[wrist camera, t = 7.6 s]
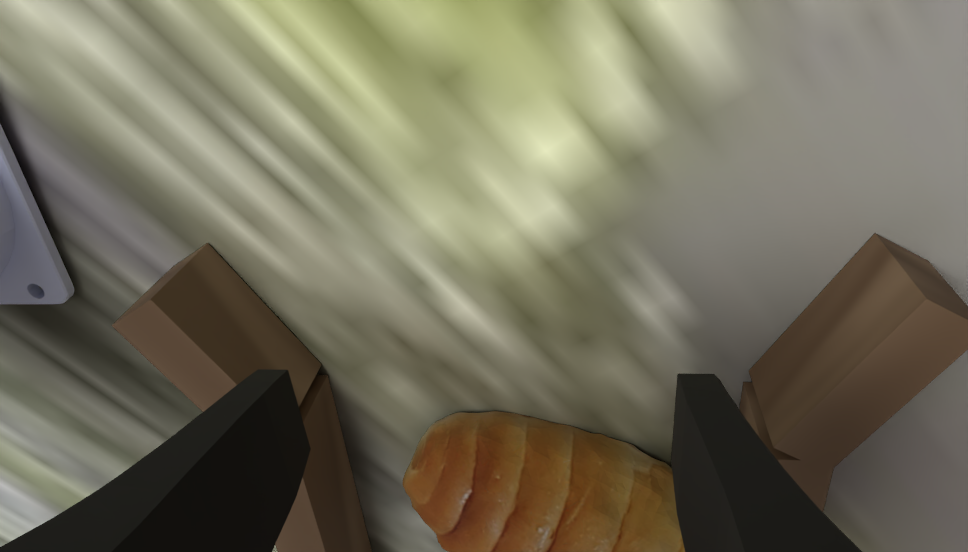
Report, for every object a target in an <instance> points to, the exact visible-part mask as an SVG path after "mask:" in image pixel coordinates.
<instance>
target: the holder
mask: <svg viewBox="0 0 968 552" xmlns="http://www.w3.org/2000/svg"><path fill="white" fill-rule="evenodd" d="M112 327H113V328H115V329H116V330H117V331H118V332H119V333H120V334H121V335H122V336H123V337H124V338H125V339H126V340H127V341H128V342H129V343H130V344H132V345H133V346H134V347H135V348H136V349H137V350H138V351H139V352H140V353H141V354H142V355H143V356H144V357H145V358H146V359H147V360H149V361H150V362H151V363H152V364H153V365H154V366H155V367H156V368H157V369H158V370H159V371H160V372H161V373H162V374H163V375H164V376H166V377H167V378H168V379H169V380H170V381H171V382H172V383H173V384H174V385H175V386H176V387H177V388H178V389H179V390H180V391H181V392H183V393H184V394H185V395H186V396H187V397H188V398H189V399H190V400H191V401H192V402H193V403H194V404H195V405H196V406H197V407H198V408H200V409H201V410H202V411H203V412H204V411H205V410H206V409H208V408H209V407H210V406H211V405H213V404H214V403H215V402H216V401H218V400H219V399H220V398H221V397H223V396H224V395H225V394H226V393H228V392H229V391H230V390H231V389H233V388H234V387H235V386H236V385H238V384H239V383H240V382H242V381H243V380H244V379H245V378H247V377H248V376H250V375H251V374H252V373H254V372H255V371H257V370H258V369H272V370H288V371H289V375H290V378H291V382H292V385H293V389H294V392H295V396H296V399H297V403H298V406H299V410H300V413H301V417H302V420H303V424H304V427H305V430H306V434H307V437H308V441H309V444H310V448H311V450H310V453H309V457H308V460H307V464H306V467H305V471H304V474H303V477H302V481H301V484H300V487H299V490H298V493H297V496H296V499H295V501H294V503H293V506H292V508H291V510H290V512H289V515H288V517H287V519H286V521H285V524H284V526H283V528H282V530H281V532H280V535H279V537H278V539H277V541H276V543H275V545H276V548H277V551H278V552H372V550H371V546H370V542H369V538H368V534H367V530H366V526H365V522H364V518H363V514H362V510H361V506H360V502H359V498H358V494H357V490H356V486H355V482H354V478H353V474H352V470H351V466H350V462H349V458H348V454H347V450H346V446H345V442H344V438H343V434H342V431H341V427H340V423H339V419H338V415H337V411H336V407H335V403H334V399H333V395H332V391H331V387H330V383H329V379H328V375H316V374H317V372H318V371H319V369H320V367H321V365H322V364H321V363H320V362H319V361H318V360H317V359H316V358H315V357H314V356H313V355H312V354H311V353H310V352H309V351H308V350H307V348H306V347H305V346H304V345H303V344H302V343H301V342H300V341H299V340H298V339H297V338H296V337H295V336H294V335H293V333H292V332H291V331H290V330H289V329H288V328H287V327H286V326H285V325H284V324H283V323H282V322H281V321H280V320H279V319H278V317H277V316H276V315H275V314H274V313H273V312H272V311H271V310H270V309H269V308H268V307H267V306H266V305H265V304H264V303H263V301H262V300H261V299H260V298H259V297H258V296H257V295H256V294H255V293H254V292H253V291H252V290H251V289H250V288H249V286H248V285H247V284H246V283H245V282H244V281H243V280H242V279H241V278H240V277H239V276H238V275H237V274H236V273H235V272H234V270H233V269H232V268H231V267H230V266H229V265H228V264H227V263H226V262H225V261H224V260H223V259H222V258H221V257H220V255H219V254H218V253H217V252H216V251H215V250H214V249H213V248H212V247H211V246H210V245H209V244H208V243H207V244H205V245H204V246H202V247H201V248H199V249H198V250H197V251H195V252H194V253H192V254H191V255H189V256H188V257H186V258H185V259H184V260H182V261H181V262H179V263H178V264H176V265H175V266H173V267H172V268H171V269H170V270H169V271H168V272H167V273H166V274H165V275H164V276H163V277H162V278H160V279H159V280H158V281H157V282H156V283H155V284H154V285H153V286H152V287H151V288H150V289H149V290H148V291H147V292H146V293H145V294H144V295H143V296H142V297H141V298H140V299H139V300H138V301H137V302H136V303H134V304H133V305H132V306H131V307H130V308H129V309H128V310H127V311H126V312H125V313H124V314H123V315H122V316H121V317H120V318H119V319H118V320H117V321H116V322H115V323H114V324H113V325H112ZM966 350H968V306H967V305H966V304H965V303H964V302H963V300H962V299H961V298H960V297H959V296H958V295H957V294H956V292H955V291H954V290H953V289H952V288H951V287H950V285H949V284H948V283H947V282H946V281H945V280H944V279H943V277H942V276H941V275H940V274H939V273H938V272H937V270H936V269H935V268H934V267H933V266H932V265H931V264H930V262H929V261H927V260H925V259H923V258H921V257H920V256H918V255H916V254H914V253H912V252H910V251H908V250H906V249H904V248H902V247H900V246H898V245H897V244H895V243H893V242H891V241H889V240H887V239H885V238H883V237H881V236H879V235H877V234H874V235H873V236H872V237H871V238H870V239H869V240H868V241H867V242H866V244H865V245H864V246H863V247H862V248H861V249H860V250H859V251H858V252H857V253H856V254H855V256H854V257H853V258H852V259H851V260H850V261H849V262H848V263H847V264H846V265H845V266H844V268H843V269H842V270H841V271H840V272H839V273H838V274H837V275H836V276H835V277H834V278H833V280H832V281H831V282H830V283H829V284H828V285H827V286H826V287H825V288H824V289H823V290H822V292H821V293H820V294H819V295H818V296H817V297H816V298H815V299H814V300H813V301H812V302H811V304H810V305H809V306H808V307H807V308H806V309H805V310H804V311H803V312H802V313H801V314H800V316H799V317H798V318H797V319H796V320H795V321H794V322H793V323H792V324H791V325H790V327H789V328H788V329H787V330H786V331H785V332H784V333H783V334H782V335H781V336H780V337H779V339H778V340H777V341H776V342H775V343H774V344H773V345H772V346H771V347H770V348H769V349H768V351H767V352H766V353H765V354H764V355H763V356H762V357H761V358H760V359H759V360H758V361H757V363H756V364H755V365H754V366H753V367H752V368H751V369H750V370H749V373H750V376H751V380H752V382H743V388H742V395H741V402H740V409H739V410H740V411H741V413H742V414H743V416H744V417H745V418H746V420H747V421H748V423H749V424H750V425H751V427H752V428H753V429H754V431H755V432H756V433H757V435H758V436H759V437H760V439H761V440H762V441H763V443H764V444H765V445H766V446H767V448H768V449H769V450H770V451H771V453H772V454H773V455H774V456H775V458H776V459H777V460H778V461H779V463H780V464H781V465H782V466H783V468H784V469H785V470H786V471H787V472H788V474H789V475H790V476H791V477H792V478H793V480H794V481H795V482H796V483H797V484H798V485H799V487H800V488H801V489H802V490H803V491H804V492H805V493H806V494H807V495H808V497H809V498H810V499H811V500H812V501H813V502H814V503H815V504H816V505H817V507H818V508H819V509H820V510H821V511H822V512H823V510H824V506H825V502H826V497H827V493H828V489H829V485H830V481H831V477H832V473H833V468H834V467H835V466H836V465H837V464H839V463H840V462H841V461H842V460H843V459H844V458H845V457H846V456H848V455H849V454H850V453H851V452H852V451H853V450H854V449H855V448H857V447H858V446H859V445H860V444H861V443H862V442H863V441H865V440H866V439H867V438H868V437H869V436H870V435H871V434H872V433H874V432H875V431H876V430H877V429H878V428H879V427H880V426H882V425H883V424H884V423H885V422H886V421H887V420H888V419H889V418H891V417H892V416H893V415H894V414H895V413H896V412H897V411H898V410H900V409H901V408H902V407H903V406H904V405H905V404H906V403H908V402H909V401H910V400H911V399H912V398H913V397H914V396H915V395H917V394H918V393H919V392H920V391H921V390H922V389H923V388H925V387H926V386H927V385H928V384H929V383H930V382H931V381H932V380H934V379H935V378H936V377H937V376H938V375H939V374H940V373H941V372H943V371H944V370H945V369H946V368H947V367H948V366H949V365H951V364H952V363H953V362H954V361H955V360H956V359H957V358H958V357H960V356H961V355H962V354H963V353H964V352H965V351H966Z"/></svg>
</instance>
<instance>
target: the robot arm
mask: <svg viewBox="0 0 968 552" xmlns="http://www.w3.org/2000/svg"><path fill="white" fill-rule="evenodd" d="M39 286H40V287H41V288H42V289H43V290H42V289H41V288H39ZM73 294H74V286H73V284H72V281H71V279H70V277H69V275H68V272H67V270H66V268H65V266H64V264H63V261H62V259H61V257H60V255H59V253H58V250H57V248H56V246H55V244H54V241H53V239H52V237H51V235H50V233H49V230H48V228H47V226H46V224H45V221H44V219H43V217H42V215H41V213H40V210H39V208H38V206H37V204H36V202H35V199H34V197H33V195H32V193H31V190H30V188H29V186H28V184H27V182H26V179H25V177H24V175H23V173H22V171H21V168H20V166H19V164H18V162H17V159H16V157H15V155H14V153H13V151H12V148H11V146H10V144H9V142H8V139H7V137H6V135H5V133H4V131H3V128H2V126H1V124H0V304H62V303H64V302H66V301H67V300H68V299H69V298H70V297H71V296H73ZM310 450H311V448H310V444H309V441H308V437H307V434H306V430H305V427H304V424H303V420H302V417H301V413H300V410H299V406H298V403H297V399H296V396H295V392H294V389H293V385H292V382H291V378H290V375H289V371H288V370H272V369H258V370H257V371H255V372H254V373H252V374H251V375H250V376H248V377H247V378H245V379H244V380H243V381H242V382H240V383H239V384H238V385H236V386H235V387H234V388H233V389H231V390H230V391H229V392H228V393H226V394H225V395H224V396H223V397H221V398H220V399H219V400H218V401H216V402H215V403H214V404H213V405H211V406H210V407H209V408H208V409H206V410H205V411H204V412H203V413H201V414H200V415H199V416H198V417H196V418H195V419H194V420H193V421H191V422H190V423H189V424H187V425H186V426H185V427H184V428H182V429H181V430H180V431H179V432H177V433H176V434H175V435H174V436H172V437H171V438H170V439H168V440H167V441H166V442H164V443H163V444H162V445H160V446H159V447H158V448H156V449H155V450H154V451H152V452H151V453H149V454H148V455H147V456H145V457H144V458H143V459H141V460H140V461H138V462H137V463H136V464H134V465H133V466H132V467H130V468H129V469H128V470H126V471H125V472H123V473H122V474H121V475H119V476H118V477H116V478H115V479H114V480H112V481H111V482H109V483H108V484H106V485H105V486H103V487H102V488H100V489H99V490H97V491H96V492H94V493H93V494H91V495H89V496H88V497H86V498H85V499H83V500H81V501H80V502H78V503H77V504H75V505H73V506H72V507H70V508H69V509H67V510H65V511H64V512H62V513H61V514H59V515H57V516H56V517H54V518H52V519H51V520H49V521H47V522H45V523H43V524H42V525H40V526H38V527H36V528H34V529H33V530H31V531H29V532H27V533H25V534H23V535H22V536H20V537H18V538H16V539H14V540H13V541H11V542H9V543H7V544H5V545H4V546H2V547H0V552H272V550H273V548H274V546H275V543H276V541H277V539H278V537H279V535H280V532H281V530H282V528H283V526H284V524H285V521H286V519H287V517H288V515H289V512H290V510H291V508H292V506H293V503H294V501H295V499H296V496H297V493H298V490H299V487H300V484H301V481H302V477H303V474H304V471H305V467H306V464H307V460H308V457H309V453H310ZM671 462H672V473H673V483H674V492H675V501H676V510H677V516H678V521H679V526H680V530H681V535H682V539H683V544H684V548H685V552H862V551H861V550H860V549H859V548H858V547H857V546H856V545H855V544H854V543H853V542H852V541H851V540H850V539H849V538H847V537H846V536H845V535H844V534H843V533H842V532H841V531H840V530H839V529H838V528H837V527H836V526H835V525H834V523H833V522H832V521H831V520H830V519H829V518H828V517H827V516H826V515H825V514H824V513H823V512H822V511H821V510H820V509H819V508H818V507H817V505H816V504H815V503H814V502H813V501H812V500H811V499H810V498H809V497H808V495H807V494H806V493H805V492H804V491H803V490H802V489H801V488H800V487H799V485H798V484H797V483H796V482H795V481H794V480H793V478H792V477H791V476H790V475H789V474H788V472H787V471H786V470H785V469H784V468H783V466H782V465H781V464H780V463H779V461H778V460H777V459H776V458H775V456H774V455H773V454H772V453H771V451H770V450H769V449H768V448H767V446H766V445H765V444H764V443H763V441H762V440H761V439H760V437H759V436H758V435H757V433H756V432H755V431H754V429H753V428H752V427H751V425H750V424H749V423H748V421H747V420H746V418H745V417H744V416H743V414H742V413H741V411H740V410H739V408H738V407H737V406H736V404H735V403H734V401H733V400H732V398H731V397H730V395H729V394H728V392H727V391H726V389H725V387H724V386H723V384H722V383H721V381H720V380H719V379H718V378H717V377H716V376H715V375H714V374H678V375H677V388H676V402H675V415H674V428H673V441H672V455H671Z"/></svg>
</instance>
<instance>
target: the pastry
mask: <svg viewBox="0 0 968 552" xmlns="http://www.w3.org/2000/svg"><path fill="white" fill-rule="evenodd" d="M403 487H404V488H405V491H406V493H407V494H408V496H409V497H410V499H411V502H412V507H413V508H414V509H415V510H416V511H417V512H418V514H419V515H420V516H421V518H422V519H423V521H424V522H425V523H426V524H427V525H428V526H429V527H430V528H431V529H432V530H433V531H434V532H435V533H436V535H437V538H438V542H439V543H440V545H441V547H442V548H443V549H445V550H446V551H449V552H685V548H684V544H683V539H682V535H681V530H680V526H679V521H678V516H677V510H676V501H675V492H674V483H673V473H672V468H671V467H670V466H669V465H668V464H667V463H665V461H664V462H661V461H659V460H656V459H654V458H652V457H650V456H648V455H646V454H644V453H643V452H641V451H640V450H638V449H637V448H636V447H635V446H634V445H632V444H629V443H626V442H622V441H619V440H615V439H612V438H608V437H607V436H605V435H602V434H599V433H597V434H594V433H589V432H586V431H584V430H581V429H578V428H576V427H573V426H569V425H562V424H557V423H552V422H549V421H545V420H541V419H538V418H534V417H530V416H525V415H520V414H514V413H506V412H499V411H491V412H483V413H463V412H459V413H453V414H451V415H449V416H447V417H445V418H443V419H440V420H438V421H436V422H435V423H434V424H432V425H431V426H430V427H429V429H428V430H427V431H426V433H425V434H424V435H423V437H422V438H421V440H420V442H419V443H418V446H417V449H416V451H415V454H414V456H413V458H412V461H411V463H410V465H409V466H408V468H407V470H406V472H405V475H404V478H403Z"/></svg>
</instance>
